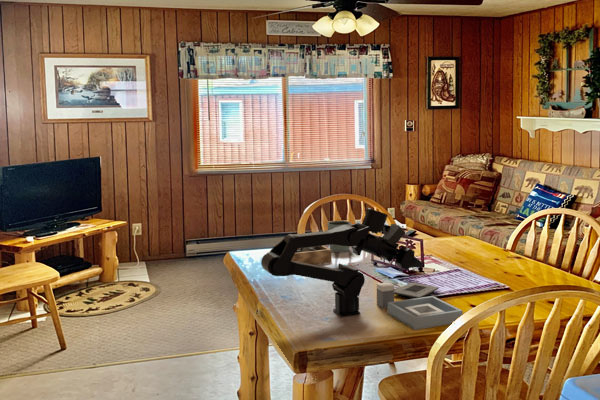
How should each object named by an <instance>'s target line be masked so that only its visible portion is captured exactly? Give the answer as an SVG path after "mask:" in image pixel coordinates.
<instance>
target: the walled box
mask: <svg viewBox="0 0 600 400" xmlns="http://www.w3.org/2000/svg"><path fill="white" fill-rule="evenodd" d="M463 313H464V312H463V310H462V309H460V308H458V307H456V306H454V305H452V304H450V303H448V302H446V301H444V300H442V299H440V298H438V297H436V296H434V295H431V296H424V297H422V298H409V299H402V300H394V302H388V308H387V314H388V315H389V316H391V317H393V318H395V319H396V320H398V321H400V322H401V323H403V324H404V325H405V326H408V327H409V328H411V329H412V330H414V331H417V330H421V329H422V330H423V329H428V328H435V327H441V326H446V325H452V324H451V323H452V322H453V321H455V320H456V319H457V318H458V317H460V316H461V315H463Z"/></svg>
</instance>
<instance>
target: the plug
mask: <svg viewBox="0 0 600 400" xmlns="http://www.w3.org/2000/svg"><path fill="white" fill-rule="evenodd" d="M394 290H395V284H392V283H390V282H388V281H387V282H379V283H376V306H378V307H379V308H381V309H388V302H394V301H395V294H394Z"/></svg>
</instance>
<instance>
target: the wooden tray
mask: <svg viewBox="0 0 600 400" xmlns="http://www.w3.org/2000/svg"><path fill="white" fill-rule="evenodd" d="M277 244H278V243H276V244H275V246H276V245H277ZM319 247H320V250H317V251H308V252H298V253H295V254H294V256H293V258H292V261H297V262H302V263H308V264H313V265H317V264H323V263H331V262H332V261H333V260H332V251H331V249H330V248H329V247H327V246H326V245H323V246H319ZM299 249H300V248H298V249H297V250H299Z"/></svg>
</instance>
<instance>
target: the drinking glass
mask: <svg viewBox="0 0 600 400" xmlns="http://www.w3.org/2000/svg"><path fill="white" fill-rule="evenodd" d="M342 225H349V226H350V225H352V222H351V221H347V220H331V221H328V222H327V231H328V230H331V229H333V228H335V227H338V226H342ZM328 248H329V249H331V253H347V252H349V251H350V249H351V246H341V245H333V244H332V245H328Z"/></svg>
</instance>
